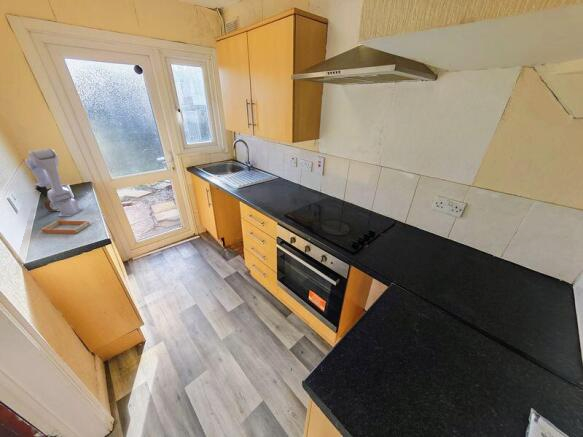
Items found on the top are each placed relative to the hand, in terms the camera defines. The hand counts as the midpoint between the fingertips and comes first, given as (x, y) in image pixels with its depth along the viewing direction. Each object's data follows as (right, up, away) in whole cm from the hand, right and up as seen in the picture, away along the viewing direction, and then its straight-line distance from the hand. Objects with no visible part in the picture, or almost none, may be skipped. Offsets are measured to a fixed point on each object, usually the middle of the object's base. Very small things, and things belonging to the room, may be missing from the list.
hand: (53, 196), depth 151 cm
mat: (0, -8, +5) cm, 9 cm away
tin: (0, -7, +5) cm, 9 cm away
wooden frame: (+27, -21, -18) cm, 39 cm away
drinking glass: (-8, +1, +20) cm, 21 cm away
